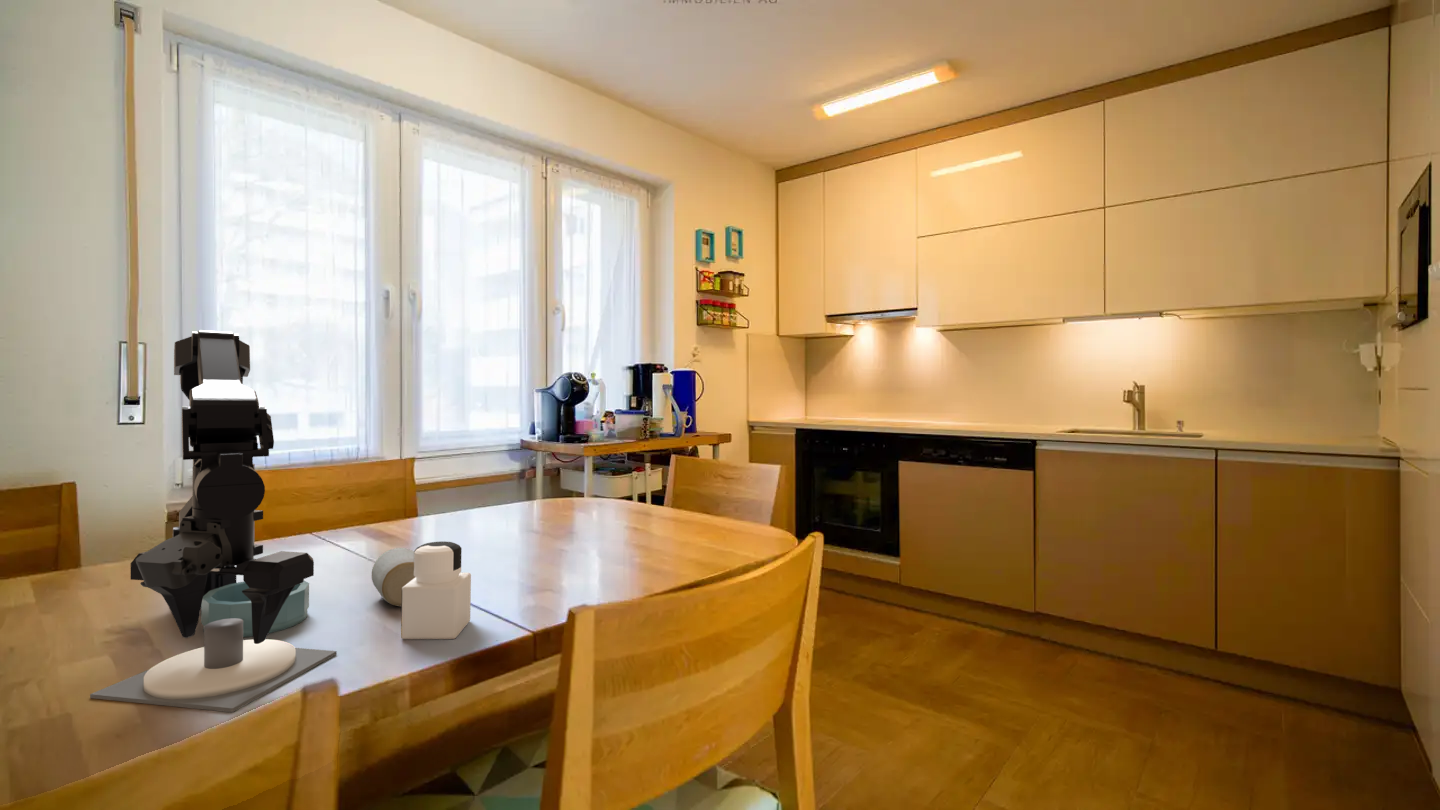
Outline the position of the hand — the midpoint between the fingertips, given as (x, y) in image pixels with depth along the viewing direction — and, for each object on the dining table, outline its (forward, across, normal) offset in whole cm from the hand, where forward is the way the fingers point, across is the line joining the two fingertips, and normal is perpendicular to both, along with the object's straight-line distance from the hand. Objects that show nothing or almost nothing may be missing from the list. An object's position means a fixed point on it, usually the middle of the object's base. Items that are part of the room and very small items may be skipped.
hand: (223, 639), depth 76 cm
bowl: (+4, -10, +16) cm, 19 cm away
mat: (+4, 0, 0) cm, 4 cm away
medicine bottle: (+4, +16, +18) cm, 24 cm away
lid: (+4, 0, 0) cm, 4 cm away
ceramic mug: (+4, +5, +29) cm, 30 cm away
